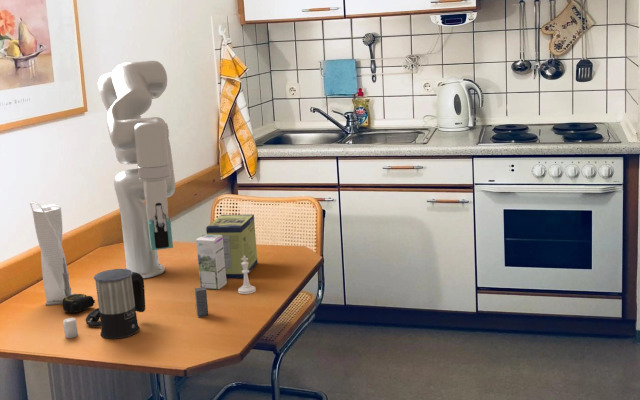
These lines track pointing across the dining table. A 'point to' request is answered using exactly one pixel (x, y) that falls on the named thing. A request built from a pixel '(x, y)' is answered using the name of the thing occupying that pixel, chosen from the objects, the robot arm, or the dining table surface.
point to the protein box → (236, 242)
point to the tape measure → (77, 303)
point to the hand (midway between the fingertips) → (161, 243)
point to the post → (201, 302)
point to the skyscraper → (52, 253)
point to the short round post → (70, 328)
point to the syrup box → (211, 261)
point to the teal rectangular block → (152, 230)
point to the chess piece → (246, 279)
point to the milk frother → (118, 303)
